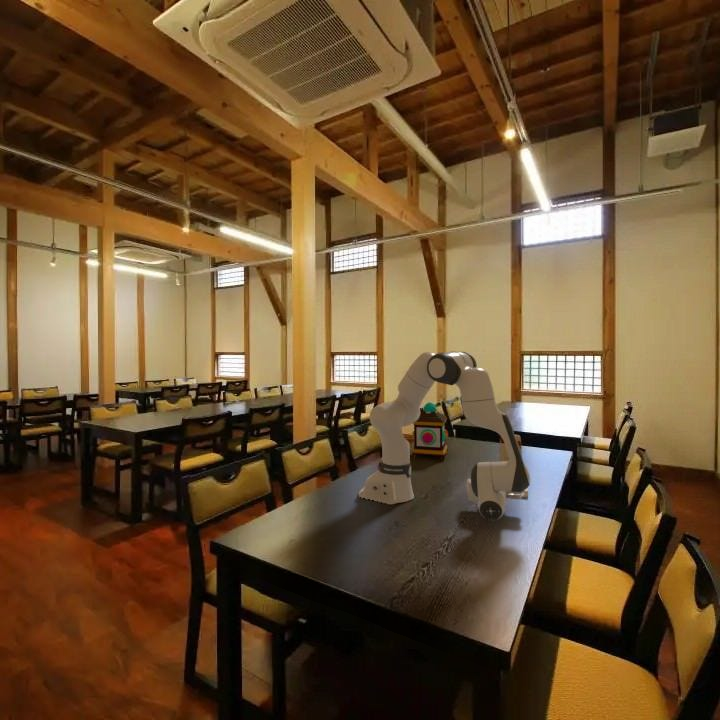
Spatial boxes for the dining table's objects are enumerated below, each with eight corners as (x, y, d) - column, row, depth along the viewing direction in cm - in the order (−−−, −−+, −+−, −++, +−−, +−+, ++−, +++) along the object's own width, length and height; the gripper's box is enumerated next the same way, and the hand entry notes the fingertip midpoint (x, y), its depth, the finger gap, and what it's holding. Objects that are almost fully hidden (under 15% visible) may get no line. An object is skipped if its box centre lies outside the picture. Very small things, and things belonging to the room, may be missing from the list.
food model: (498, 476, 188) (498, 433, 187) (500, 472, 194) (500, 431, 193) (521, 479, 184) (521, 435, 183) (522, 475, 190) (522, 432, 189)
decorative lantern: (415, 450, 237) (415, 399, 236) (450, 452, 231) (449, 400, 230) (409, 459, 218) (408, 404, 217) (446, 462, 212) (446, 405, 211)
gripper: (524, 488, 141) (524, 476, 154) (464, 482, 148) (468, 471, 161) (524, 506, 141) (524, 492, 154) (464, 499, 148) (468, 486, 161)
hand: (495, 481), depth 158 cm, fingers closed on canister, 5 cm apart
